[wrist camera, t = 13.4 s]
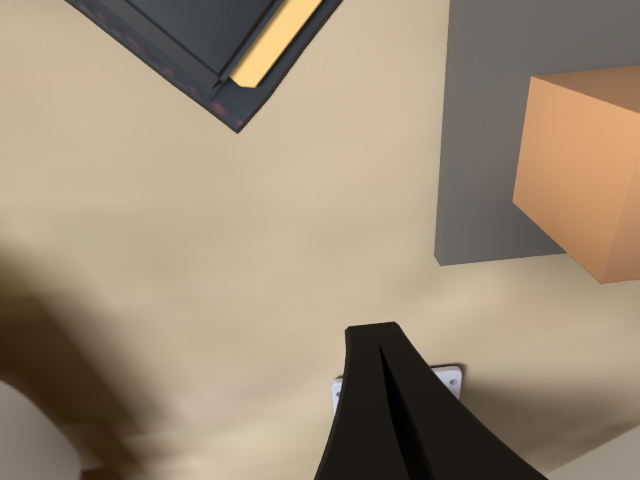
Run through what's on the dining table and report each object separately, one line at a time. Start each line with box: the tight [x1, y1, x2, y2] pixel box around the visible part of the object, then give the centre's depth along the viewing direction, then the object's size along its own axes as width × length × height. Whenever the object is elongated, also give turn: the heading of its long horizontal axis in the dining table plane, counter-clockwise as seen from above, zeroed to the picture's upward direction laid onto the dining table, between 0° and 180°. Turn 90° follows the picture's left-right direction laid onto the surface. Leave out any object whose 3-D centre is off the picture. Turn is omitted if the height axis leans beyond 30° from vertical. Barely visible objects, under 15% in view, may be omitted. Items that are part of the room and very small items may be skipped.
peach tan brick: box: [512, 65, 640, 284], centre depth 16 cm, size 6×6×7 cm
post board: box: [434, 0, 640, 266], centre depth 17 cm, size 12×12×6 cm
